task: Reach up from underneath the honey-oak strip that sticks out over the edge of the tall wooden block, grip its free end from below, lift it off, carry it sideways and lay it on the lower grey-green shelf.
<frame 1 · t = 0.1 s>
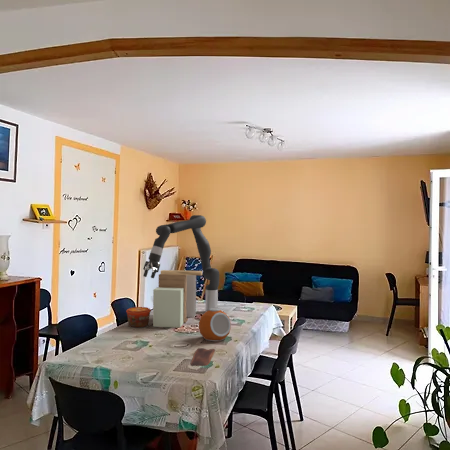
hand: (148, 277, 280), 31 cm above the table, tool tilted 20°, fingers open, 8 cm apart
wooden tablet: (202, 358, 217), on the table
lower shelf: (168, 325, 280), on the table
tall wooden block: (172, 320, 292), on the table
oak strip: (181, 274, 291), point 32 cm above the table, touching tall wooden block
food container: (138, 325, 279), on the table
grey tall block: (185, 316, 307), on the table
alarm clock: (214, 338, 251), on the table
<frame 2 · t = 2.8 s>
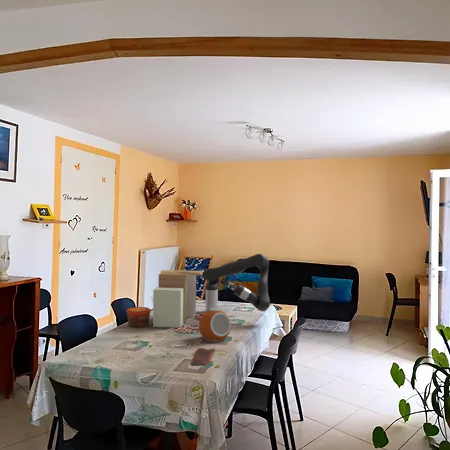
hand: (221, 280, 288), 29 cm above the table, tool pointing upward, fingers open, 8 cm apart
nothing on the table moved.
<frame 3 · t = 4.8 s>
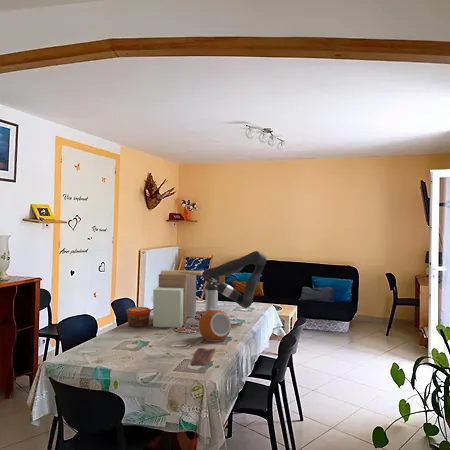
hand: (205, 276, 289), 31 cm above the table, tool pointing upward, fingers open, 8 cm apart
nothing on the table moved.
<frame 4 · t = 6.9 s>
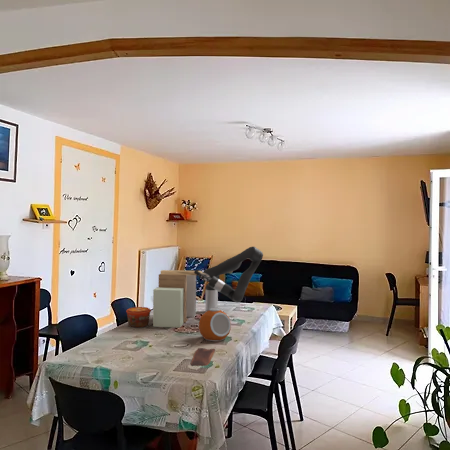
hand: (195, 271, 290), 35 cm above the table, tool pointing upward, fingers closed on oak strip, 4 cm apart
oak strip: (181, 274, 291), point 32 cm above the table, touching gripper, tall wooden block
everything else where it was.
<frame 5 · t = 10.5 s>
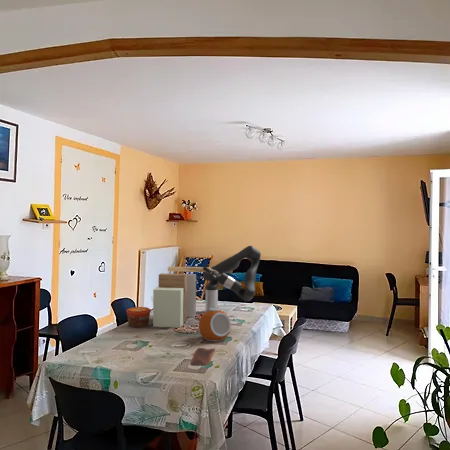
hand: (204, 267, 277), 39 cm above the table, tool pointing upward, fingers closed on oak strip, 4 cm apart
oak strip: (189, 271, 278), point 36 cm above the table, touching gripper
everything else where it was.
when the fingers open (28 cm above the table, at t = 14.0 s): oak strip drops 1 cm, resting on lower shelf.
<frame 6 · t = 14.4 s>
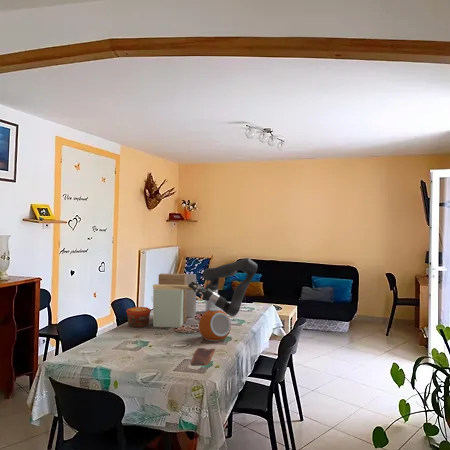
hand: (190, 283, 278), 28 cm above the table, tool pointing upward, fingers open, 8 cm apart
oak strip: (174, 289, 279), point 24 cm above the table, touching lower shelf
everything else where it was.
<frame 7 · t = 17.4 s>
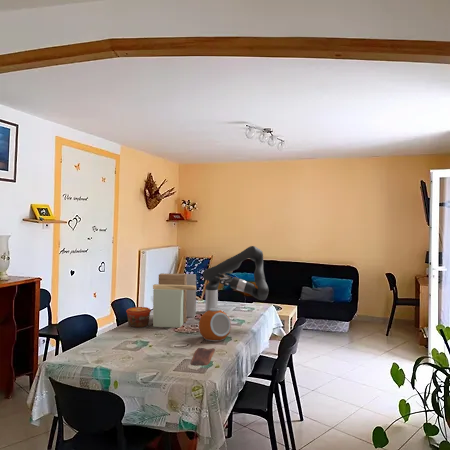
hand: (215, 276, 282), 32 cm above the table, tool pointing upward, fingers open, 8 cm apart
nothing on the table moved.
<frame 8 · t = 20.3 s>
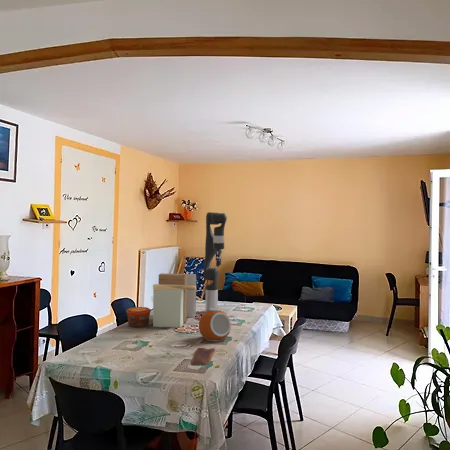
hand: (218, 265, 293), 38 cm above the table, tool pointing down, fingers open, 8 cm apart
nothing on the table moved.
at the end: oak strip inside the target area (0.3 cm from its centre), point 24.0 cm above the table; the gripper is holding nothing; oak strip tilted 0° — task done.
